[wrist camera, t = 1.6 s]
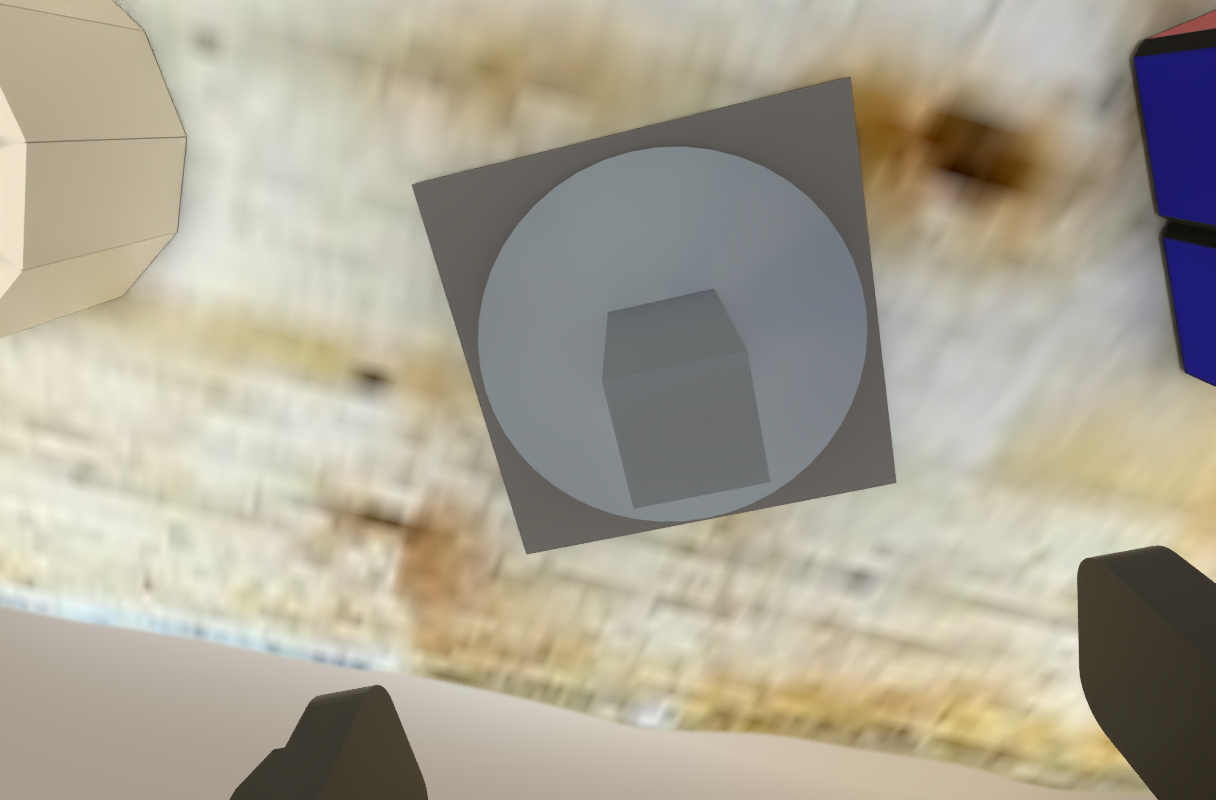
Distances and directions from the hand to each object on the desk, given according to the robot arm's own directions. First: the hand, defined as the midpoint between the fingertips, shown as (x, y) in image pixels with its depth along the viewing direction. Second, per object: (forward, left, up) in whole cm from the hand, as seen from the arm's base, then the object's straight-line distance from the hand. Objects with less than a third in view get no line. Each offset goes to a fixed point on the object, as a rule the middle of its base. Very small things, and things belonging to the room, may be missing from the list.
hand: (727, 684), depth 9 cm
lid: (0, 0, -14) cm, 14 cm away
